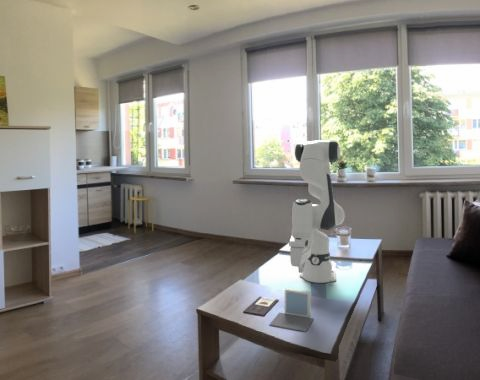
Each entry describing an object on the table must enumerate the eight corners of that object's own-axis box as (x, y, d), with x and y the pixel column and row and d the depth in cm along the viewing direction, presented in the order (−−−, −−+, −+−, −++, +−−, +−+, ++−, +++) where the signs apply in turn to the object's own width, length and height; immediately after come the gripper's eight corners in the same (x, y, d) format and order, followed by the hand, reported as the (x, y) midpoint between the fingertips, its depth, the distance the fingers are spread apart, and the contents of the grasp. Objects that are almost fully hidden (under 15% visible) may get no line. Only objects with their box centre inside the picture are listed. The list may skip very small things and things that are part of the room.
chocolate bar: (243, 311, 156) (259, 296, 172) (243, 313, 156) (259, 298, 172) (264, 315, 152) (278, 299, 168) (264, 317, 152) (278, 301, 168)
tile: (286, 311, 157) (286, 287, 156) (310, 315, 153) (310, 291, 152) (284, 313, 155) (284, 289, 154) (308, 317, 151) (309, 293, 150)
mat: (279, 313, 155) (279, 312, 155) (313, 319, 149) (313, 318, 149) (269, 325, 144) (269, 324, 144) (306, 332, 138) (306, 331, 138)
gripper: (300, 234, 167) (300, 264, 168) (287, 242, 149) (287, 277, 150) (315, 235, 165) (314, 266, 166) (303, 244, 146) (303, 279, 147)
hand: (301, 271), depth 158 cm, fingers closed
